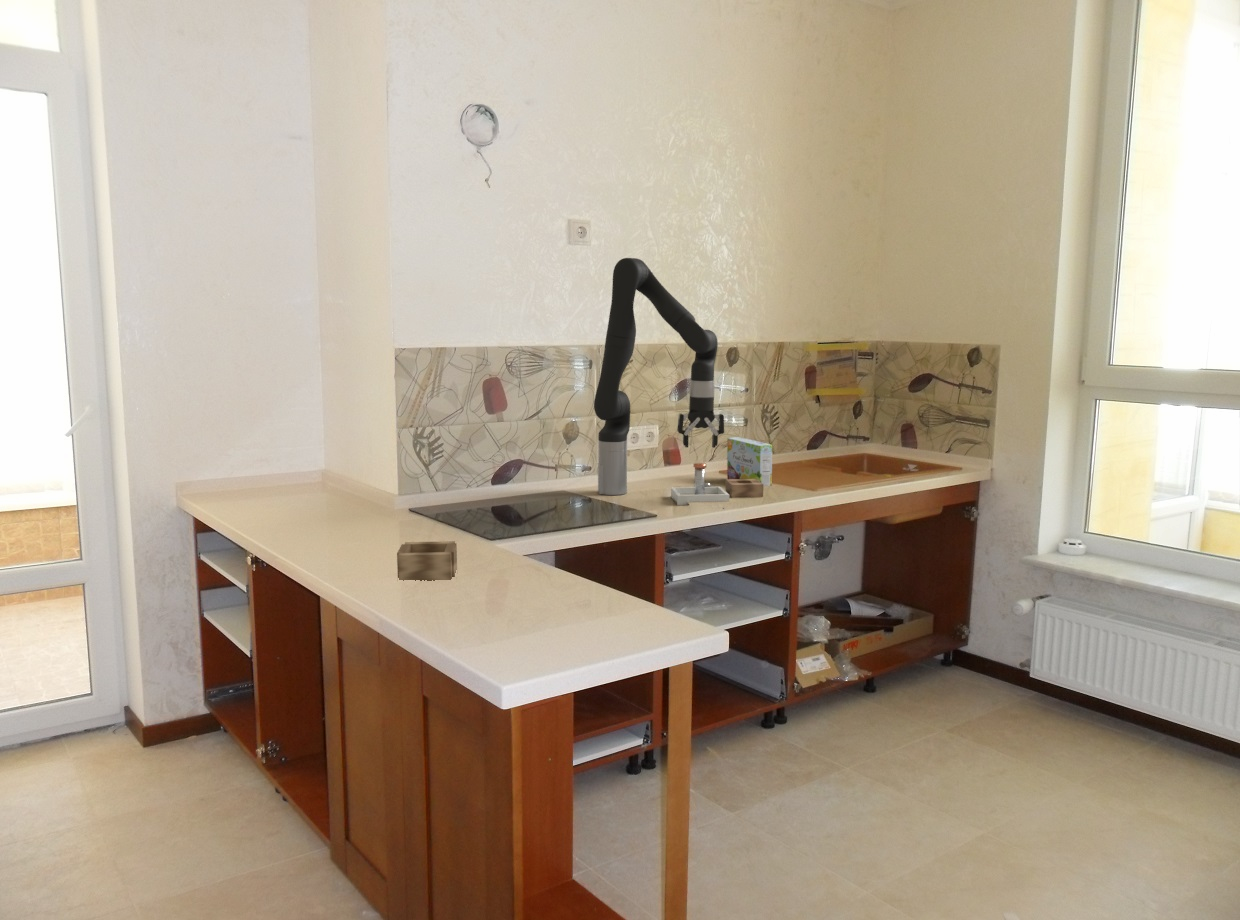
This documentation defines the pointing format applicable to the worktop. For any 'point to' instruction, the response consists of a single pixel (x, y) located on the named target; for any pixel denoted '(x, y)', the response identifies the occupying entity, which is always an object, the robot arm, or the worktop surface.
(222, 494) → the worktop surface
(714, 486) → the pulley
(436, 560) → the box
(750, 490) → the wooden box
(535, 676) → the worktop surface
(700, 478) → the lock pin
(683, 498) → the tray
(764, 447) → the snack box
